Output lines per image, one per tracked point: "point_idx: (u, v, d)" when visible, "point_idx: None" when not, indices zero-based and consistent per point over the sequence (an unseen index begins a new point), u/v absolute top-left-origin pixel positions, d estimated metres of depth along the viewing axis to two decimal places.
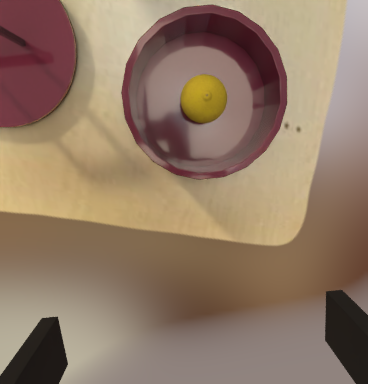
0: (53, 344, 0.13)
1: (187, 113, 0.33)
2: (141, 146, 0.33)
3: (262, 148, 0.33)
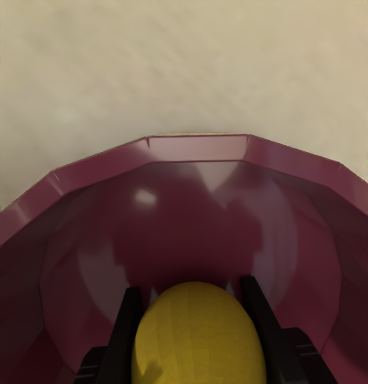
0: (139, 309, 0.15)
1: None
2: None
3: None
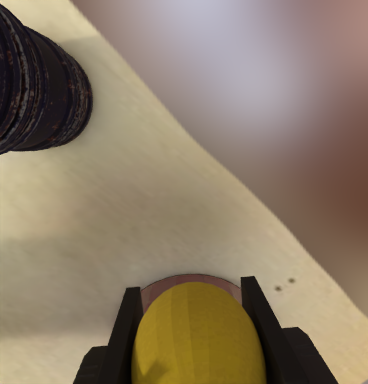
0: (139, 309, 0.15)
1: None
2: None
3: None
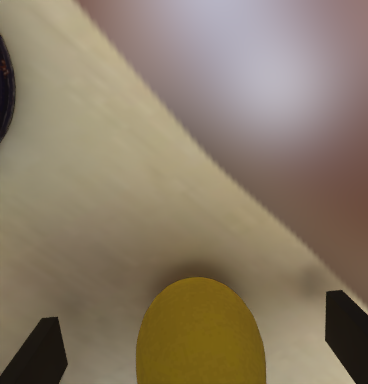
0: (53, 344, 0.13)
1: None
2: None
3: None
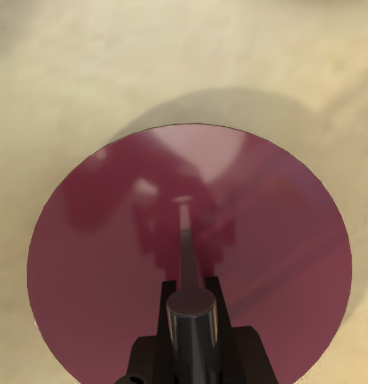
0: None
1: None
2: None
3: None
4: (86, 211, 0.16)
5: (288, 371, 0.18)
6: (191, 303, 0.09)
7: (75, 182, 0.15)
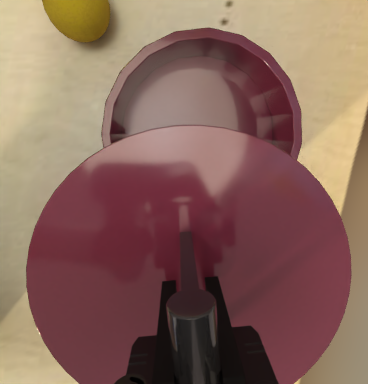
0: None
1: (94, 25, 0.25)
2: None
3: (266, 58, 0.25)
4: (86, 212, 0.16)
5: (288, 372, 0.18)
6: (191, 305, 0.09)
7: (74, 183, 0.15)
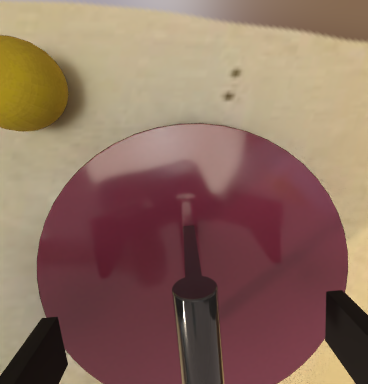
0: (53, 344, 0.13)
1: (39, 118, 0.17)
2: None
3: None
4: (94, 207, 0.16)
5: (287, 361, 0.19)
6: (195, 289, 0.10)
7: (83, 179, 0.16)
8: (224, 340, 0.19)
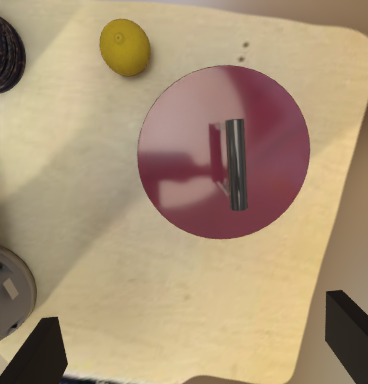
0: (53, 344, 0.13)
1: (139, 65, 0.31)
2: None
3: None
4: (171, 112, 0.30)
5: (276, 208, 0.33)
6: None
7: (166, 96, 0.30)
8: None
